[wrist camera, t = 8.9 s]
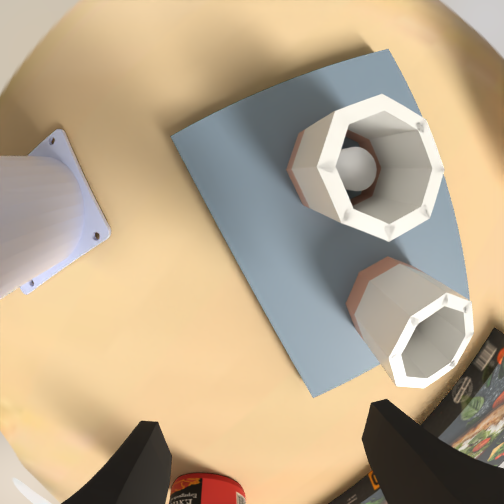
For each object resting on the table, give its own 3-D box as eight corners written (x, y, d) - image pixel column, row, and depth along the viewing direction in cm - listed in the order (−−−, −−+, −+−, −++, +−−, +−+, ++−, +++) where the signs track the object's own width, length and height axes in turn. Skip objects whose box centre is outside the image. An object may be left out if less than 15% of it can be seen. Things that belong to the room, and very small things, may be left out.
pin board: (308, 385, 20) (322, 426, 16) (175, 139, 16) (155, 127, 11) (459, 297, 20) (493, 319, 15) (378, 56, 15) (412, 31, 11)
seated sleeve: (361, 345, 18) (400, 402, 12) (337, 283, 17) (381, 333, 11) (422, 308, 18) (474, 351, 12) (406, 245, 17) (468, 276, 11)
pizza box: (551, 378, 27) (561, 387, 24) (432, 506, 34) (438, 517, 31) (491, 324, 21) (513, 340, 18) (301, 517, 28) (305, 536, 25)
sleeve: (314, 229, 16) (355, 260, 10) (273, 144, 15) (296, 126, 9) (388, 191, 16) (454, 203, 10) (353, 110, 14) (410, 84, 9)
